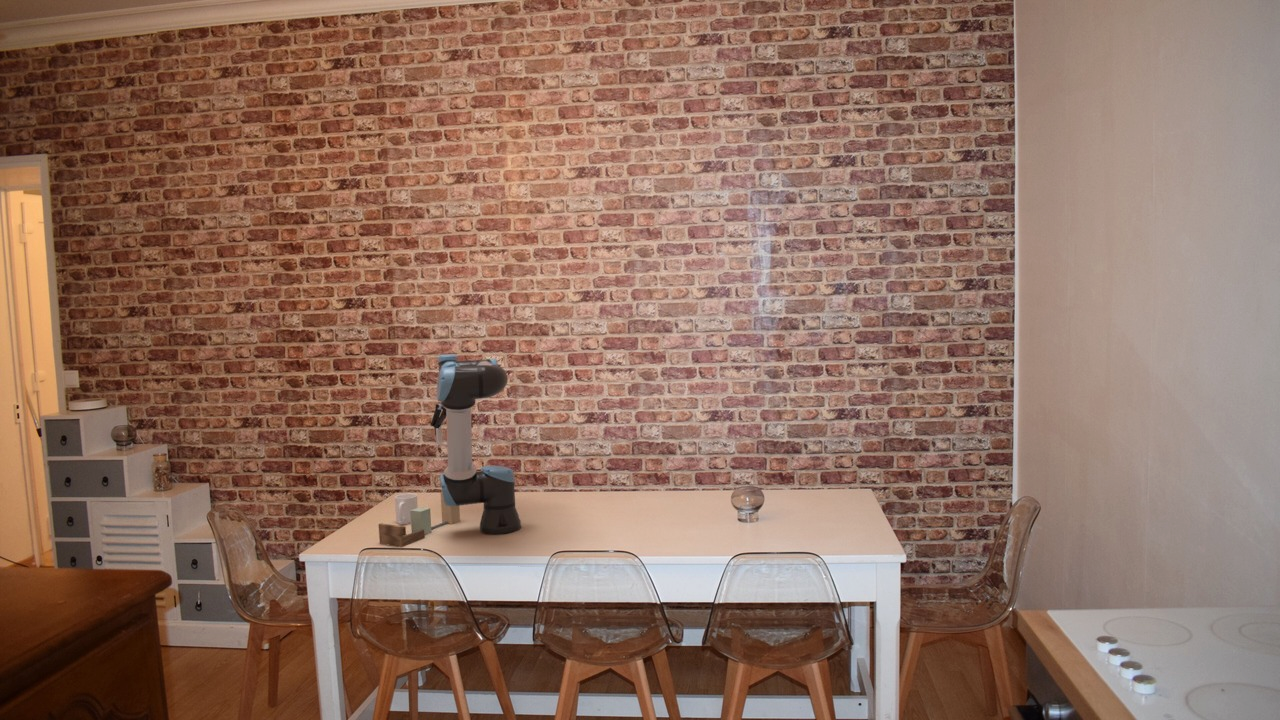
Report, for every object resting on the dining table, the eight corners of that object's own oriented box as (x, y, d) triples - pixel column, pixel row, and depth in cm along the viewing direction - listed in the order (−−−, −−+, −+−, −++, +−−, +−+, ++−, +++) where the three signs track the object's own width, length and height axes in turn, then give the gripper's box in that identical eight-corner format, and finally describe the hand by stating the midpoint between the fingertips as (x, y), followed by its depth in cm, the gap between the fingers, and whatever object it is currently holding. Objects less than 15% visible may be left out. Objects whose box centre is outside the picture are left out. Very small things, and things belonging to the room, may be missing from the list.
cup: (421, 518, 326) (419, 493, 325) (411, 527, 314) (409, 500, 313) (400, 518, 326) (399, 493, 326) (389, 527, 314) (388, 501, 314)
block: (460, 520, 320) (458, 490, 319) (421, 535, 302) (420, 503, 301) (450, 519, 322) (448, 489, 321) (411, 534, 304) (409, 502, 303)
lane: (424, 537, 299) (423, 518, 299) (401, 546, 289) (400, 527, 289) (403, 534, 304) (402, 515, 304) (379, 543, 294) (378, 524, 294)
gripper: (479, 392, 331) (482, 444, 333) (432, 390, 343) (435, 441, 345) (467, 395, 324) (470, 448, 326) (419, 393, 336) (422, 444, 338)
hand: (452, 444), depth 335 cm, fingers open, 13 cm apart
